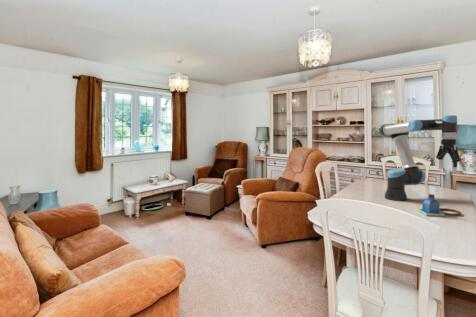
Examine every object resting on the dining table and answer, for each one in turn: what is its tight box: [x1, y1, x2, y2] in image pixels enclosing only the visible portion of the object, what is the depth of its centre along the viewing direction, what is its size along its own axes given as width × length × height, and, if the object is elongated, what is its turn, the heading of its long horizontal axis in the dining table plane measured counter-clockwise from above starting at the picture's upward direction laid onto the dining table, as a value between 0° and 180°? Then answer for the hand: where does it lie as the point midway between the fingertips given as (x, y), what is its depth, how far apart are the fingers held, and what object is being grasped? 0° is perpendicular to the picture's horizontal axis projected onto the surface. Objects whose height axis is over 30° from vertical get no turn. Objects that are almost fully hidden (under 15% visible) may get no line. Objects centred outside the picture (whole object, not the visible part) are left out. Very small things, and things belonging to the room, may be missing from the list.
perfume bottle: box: [421, 193, 441, 214], centre depth 159 cm, size 6×6×12 cm
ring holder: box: [439, 207, 462, 217], centre depth 159 cm, size 12×12×1 cm
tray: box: [417, 208, 446, 217], centre depth 160 cm, size 10×10×2 cm
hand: (446, 170), depth 165 cm, fingers open, 13 cm apart
